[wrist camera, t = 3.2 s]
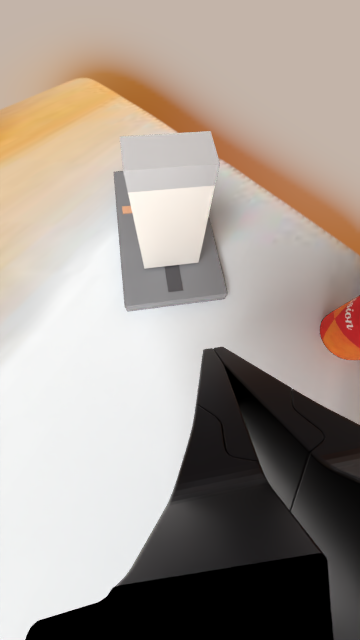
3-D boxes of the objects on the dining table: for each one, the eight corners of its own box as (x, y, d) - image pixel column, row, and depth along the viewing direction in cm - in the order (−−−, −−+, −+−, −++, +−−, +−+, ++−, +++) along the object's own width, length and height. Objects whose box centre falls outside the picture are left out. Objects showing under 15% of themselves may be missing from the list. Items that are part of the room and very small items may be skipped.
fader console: (224, 298, 25) (227, 292, 23) (127, 311, 24) (124, 305, 22) (195, 176, 30) (196, 164, 29) (116, 182, 29) (113, 170, 28)
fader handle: (198, 262, 24) (219, 163, 13) (144, 268, 23) (123, 170, 13) (193, 240, 25) (210, 131, 14) (141, 245, 24) (119, 136, 14)
